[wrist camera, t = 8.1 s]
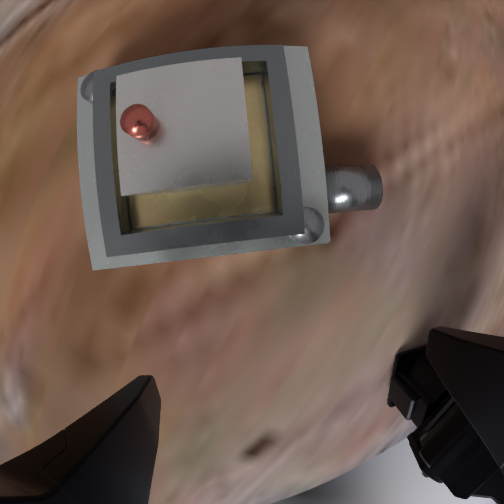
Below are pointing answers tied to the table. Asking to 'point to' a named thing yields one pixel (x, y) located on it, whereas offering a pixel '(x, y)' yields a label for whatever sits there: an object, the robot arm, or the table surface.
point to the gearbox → (226, 197)
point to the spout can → (182, 127)
